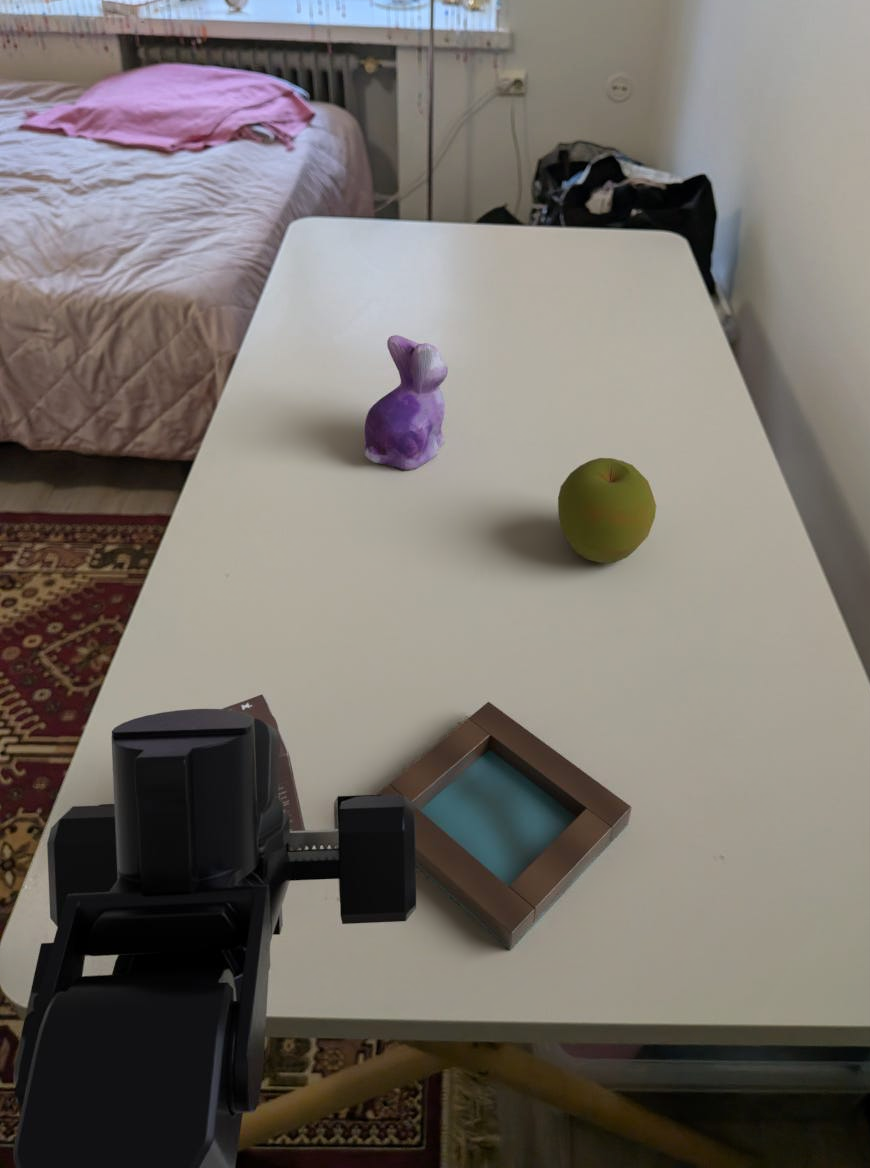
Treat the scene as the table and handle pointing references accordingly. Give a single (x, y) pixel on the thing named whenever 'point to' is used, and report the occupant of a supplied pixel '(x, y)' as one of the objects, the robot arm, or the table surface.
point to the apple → (606, 509)
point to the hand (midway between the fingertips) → (264, 808)
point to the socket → (505, 821)
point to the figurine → (408, 408)
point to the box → (286, 778)
